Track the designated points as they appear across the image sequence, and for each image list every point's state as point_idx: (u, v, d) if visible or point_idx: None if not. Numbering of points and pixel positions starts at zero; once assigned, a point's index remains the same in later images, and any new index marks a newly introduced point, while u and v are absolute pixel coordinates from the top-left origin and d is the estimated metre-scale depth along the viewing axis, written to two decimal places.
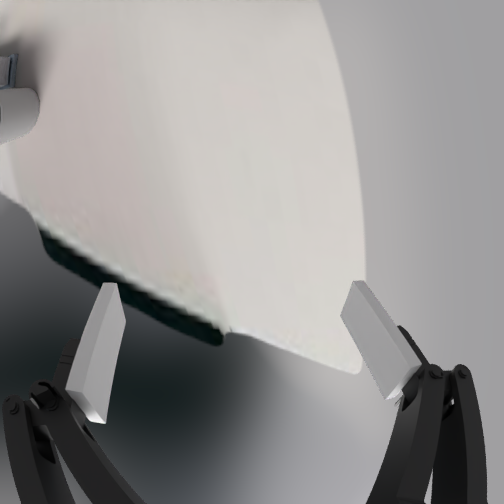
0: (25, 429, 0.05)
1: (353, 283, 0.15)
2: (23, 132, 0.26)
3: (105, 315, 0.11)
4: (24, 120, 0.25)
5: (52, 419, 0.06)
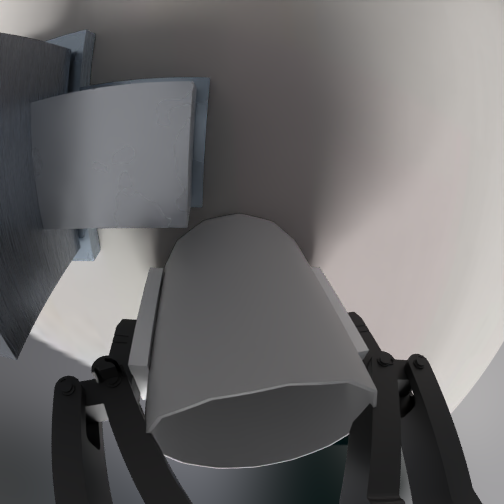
0: (78, 413, 0.06)
1: None
2: None
3: (158, 296, 0.12)
4: None
5: (111, 395, 0.07)
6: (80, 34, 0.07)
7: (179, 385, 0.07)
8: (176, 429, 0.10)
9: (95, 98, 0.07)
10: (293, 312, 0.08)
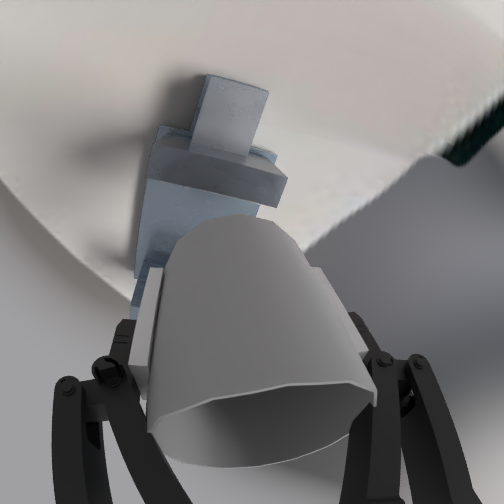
0: (78, 413, 0.06)
1: None
2: None
3: (158, 296, 0.12)
4: None
5: (111, 395, 0.07)
6: (160, 128, 0.23)
7: (180, 385, 0.07)
8: (177, 429, 0.10)
9: (204, 112, 0.20)
10: (293, 312, 0.08)
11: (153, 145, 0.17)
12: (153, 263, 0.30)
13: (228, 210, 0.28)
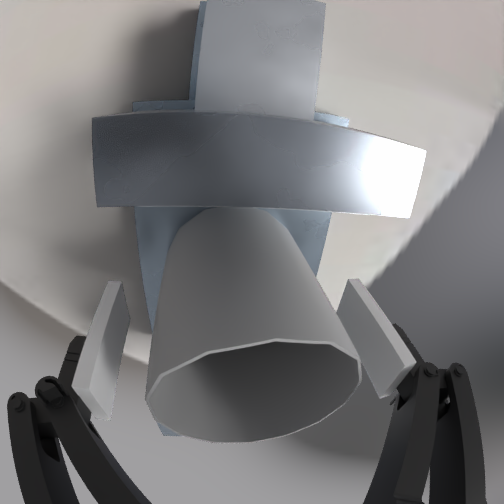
0: (30, 427, 0.05)
1: (348, 281, 0.15)
2: None
3: (111, 312, 0.11)
4: None
5: (58, 416, 0.06)
6: (136, 106, 0.12)
7: (180, 345, 0.08)
8: (175, 402, 0.11)
9: (209, 47, 0.08)
10: (282, 284, 0.10)
11: (95, 120, 0.05)
12: None
13: (284, 223, 0.17)
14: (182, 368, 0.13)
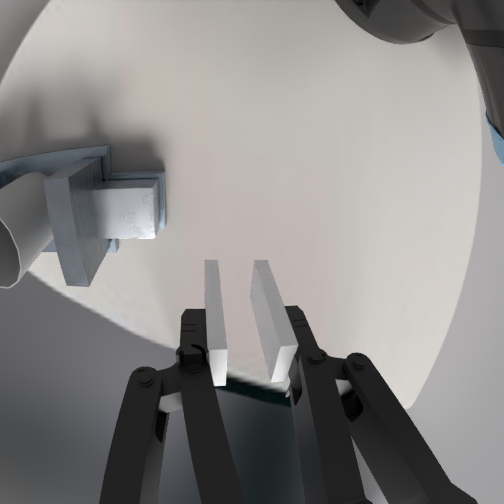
0: (152, 406, 0.08)
1: (254, 262, 0.16)
2: None
3: None
4: None
5: (189, 380, 0.09)
6: (103, 148, 0.23)
7: (7, 217, 0.15)
8: None
9: (119, 192, 0.22)
10: (33, 243, 0.19)
11: (67, 179, 0.16)
12: (3, 181, 0.21)
13: None
14: None
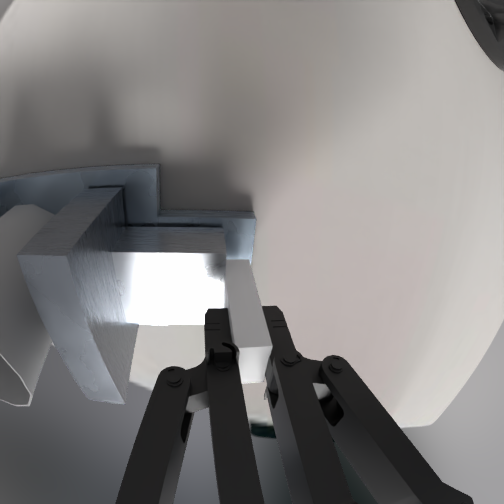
0: (180, 406, 0.08)
1: None
2: None
3: (241, 285, 0.14)
4: None
5: (217, 378, 0.09)
6: (151, 171, 0.14)
7: None
8: None
9: (163, 258, 0.13)
10: (41, 346, 0.10)
11: (64, 258, 0.08)
12: None
13: None
14: None
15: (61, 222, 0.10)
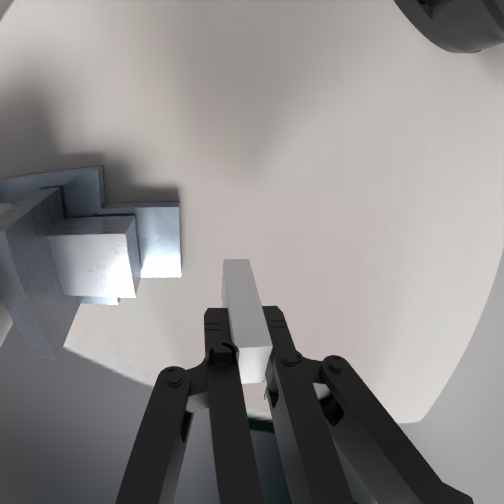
0: (180, 406, 0.08)
1: None
2: None
3: (241, 284, 0.14)
4: None
5: (217, 378, 0.09)
6: (94, 172, 0.16)
7: None
8: None
9: (81, 239, 0.15)
10: (6, 309, 0.12)
11: (4, 233, 0.09)
12: None
13: None
14: None
15: (10, 212, 0.11)
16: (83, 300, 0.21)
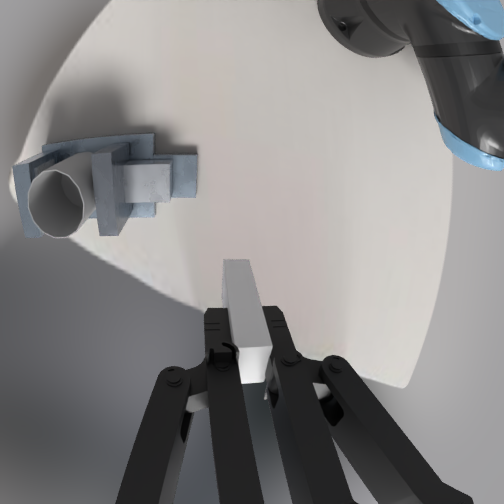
0: (180, 406, 0.08)
1: None
2: (61, 201, 0.31)
3: (241, 285, 0.14)
4: None
5: (217, 378, 0.09)
6: (151, 135, 0.32)
7: (76, 178, 0.24)
8: (42, 174, 0.23)
9: (144, 167, 0.31)
10: (92, 202, 0.28)
11: (110, 153, 0.25)
12: (57, 158, 0.30)
13: None
14: (49, 171, 0.26)
15: (106, 149, 0.27)
16: (131, 215, 0.37)
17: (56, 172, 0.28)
